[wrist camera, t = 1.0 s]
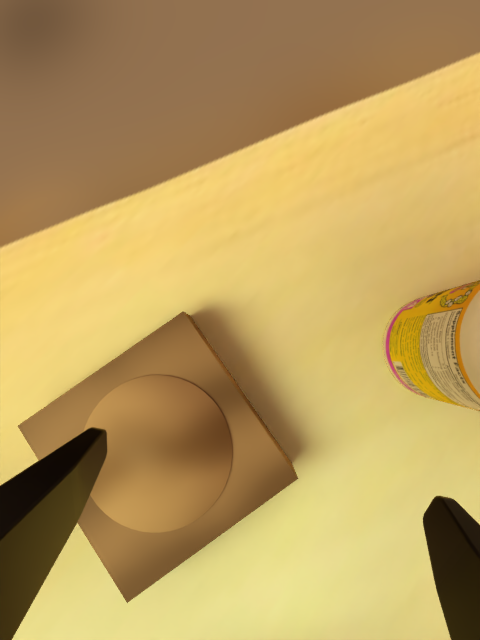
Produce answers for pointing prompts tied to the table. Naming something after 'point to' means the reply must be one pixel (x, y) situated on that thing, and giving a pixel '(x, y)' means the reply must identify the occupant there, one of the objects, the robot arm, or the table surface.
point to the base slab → (164, 453)
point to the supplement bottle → (438, 346)
